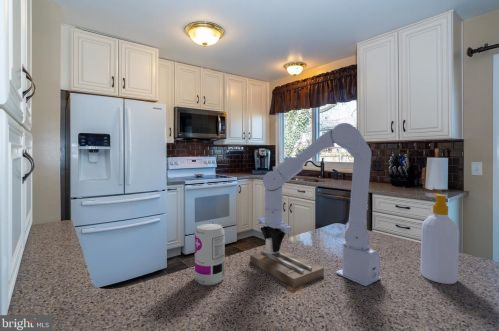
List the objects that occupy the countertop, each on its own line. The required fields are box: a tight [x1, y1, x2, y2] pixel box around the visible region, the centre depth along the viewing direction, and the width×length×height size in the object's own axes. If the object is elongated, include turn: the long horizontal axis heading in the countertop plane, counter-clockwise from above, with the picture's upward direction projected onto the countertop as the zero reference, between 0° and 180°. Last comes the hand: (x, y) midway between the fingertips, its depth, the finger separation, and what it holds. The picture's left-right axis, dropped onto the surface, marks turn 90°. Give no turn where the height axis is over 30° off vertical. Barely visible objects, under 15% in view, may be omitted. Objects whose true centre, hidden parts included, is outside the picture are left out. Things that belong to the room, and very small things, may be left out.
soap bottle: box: [419, 192, 460, 285], centre depth 74 cm, size 9×9×24 cm
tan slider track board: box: [249, 248, 325, 289], centre depth 79 cm, size 20×12×3 cm, turn 35°
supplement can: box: [194, 222, 226, 286], centre depth 72 cm, size 8×8×15 cm
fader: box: [265, 238, 282, 256], centre depth 84 cm, size 3×4×5 cm
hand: (273, 250), depth 84 cm, fingers closed on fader, 2 cm apart
